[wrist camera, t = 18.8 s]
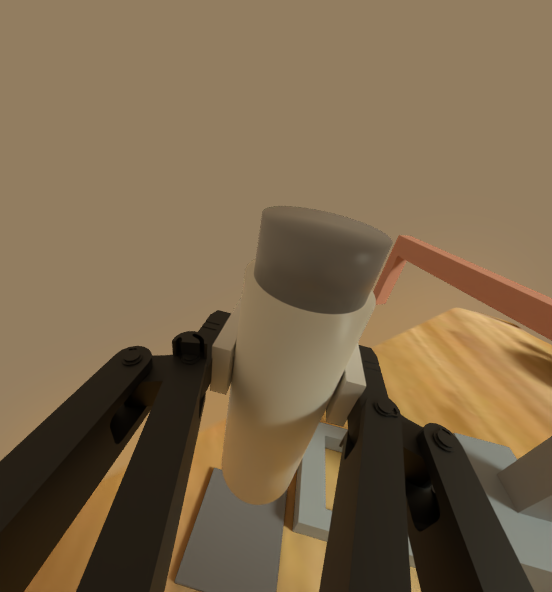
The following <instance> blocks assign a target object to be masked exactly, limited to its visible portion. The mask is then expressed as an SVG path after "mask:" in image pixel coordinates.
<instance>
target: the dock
mask: <svg viewBox="0 0 552 592" xmlns="http://www.w3.org/2000/svg"><path fill="white" fill-rule="evenodd" d="M346 432H347V429H343V428H340V427H336V426H332V425H329V424H325V423H321V422H319V424H318V426H317V428H316V431H315V433H314V435H313V437H312V439H311V441H310V443H309V445H308V447H307V449H306V451H305V453H304V456H303V458H302V460H301V462H300V464H299V466H298V469H297V481H296V494H295V506H294V519H293V532H296V533H300V534H303V535H306V536H310V537H313V538H317V539H320V540H323V541H328V534H329V528H330V522H331V516H332V511H331V510H327V509H326V501H325V448H328V449H332V450H335V451H339V452H342V449H343V446H342V447H339V444H340V442H341V440H342V439H343V437H344V435H345V434H346ZM453 435H454V436H455V437H456V438H457V439H458V440H459V442H460V443H461V445H462V446H463V448H464V450H465V452H466V455H467V457H468V459H469V461H470V463H471V465H472V467H473V469H474V471H475V473H476V475H477V477H478V479H479V481H480V483H481V485H482V487H483V489H484V491H485V493H486V495H487V497H488V499H489V501H490V503H491V505H492V507H493V509H494V511H495V513H496V515H497V517H498V519H499V521H500V523H501V525H502V527H503V529H504V531H505V533H506V535H507V537H508V539H509V541H510V543H511V545H512V547H513V549H514V551H515V553H516V555H517V557H518V559H519V561H520V563H521V565H522V568H523V570H524V572H525V574H526V576H527V578H528V580H529V582H530V584H531V586H532V588H533V590H534V592H552V436H551V437H550V438H548V439H547V440H545V441H544V442H543V443H541V444H540V445H538V446H537V447H535V448H534V449H532V450H531V451H530V452H528V453H527V454H525V455H524V456H522V457H521V458H519V459H518V460H517V459H516V457H515V456H514V454H513V453H512V451H511V449H510V448H509V447H506V446H503V445H499V444H495V443H491V442H487V441H484V440H480V439H476V438H472V437H468V436H465V435H461V434H457V433H453ZM408 544H409V562H410V566H411V567H414V568H416V567H415V563H414V558H413V554H412V550H411V545H410V541H409V537H408Z"/></svg>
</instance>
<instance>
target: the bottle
mask: <svg viewBox="0 0 552 592" xmlns="http://www.w3.org/2000/svg"><path fill="white" fill-rule="evenodd" d="M391 246H392V240H391V238H390V237H389V236H388V235H386V234H385V233H383V232H382V231H380V230H378V229H376V228H374V227H372V226H370V225H367V224H364V223H362V222H359V221H356V220H354V219H351V218H348V217H344V216H341V215H337V214H333V213H328V212H324V211H320V210H315V209H308V208H301V207H292V206H274V207H269V208H266V209H264V210H263V212H262V220H261V226H260V233H259V240H258V247H257V254H256V259H254V260H252V261H251V262H250V263H249V264H248V265H247V267H246V269H245V276H244V283H243V291H242V300H241V308H240V316H239V324H238V332H237V340H236V348H235V356H234V365H233V373H232V381H231V389H230V397H229V405H228V413H227V421H226V430H225V438H224V446H223V454H222V472H223V476H224V479H225V482H226V484H227V486H228V487H229V489H230V490H231V492H232V493H233V494H234V495H235V496H236V497H238V498H239V499H240V500H242V501H244V502H246V503H249V504H253V505H263V504H268V503H271V502H273V501H275V500H276V499H278V498H279V497H280V496H281V495H282V494H283V493H284V492H285V491H286V490H287V488H288V486H289V485H290V483H291V481H292V478H293V476H294V474H295V472H296V470H297V468H298V466H299V464H300V462H301V460H302V458H303V456H304V453H305V451H306V449H307V447H308V445H309V443H310V441H311V439H312V437H313V435H314V433H315V431H316V428H317V426H318V424H319V422H320V420H321V418H322V416H323V414H324V412H325V410H326V408H327V406H328V404H329V401H330V399H331V397H332V395H333V393H334V391H335V389H336V387H337V385H338V383H339V381H340V379H341V376H342V374H343V372H344V370H345V368H346V366H347V364H348V362H349V360H350V358H351V356H352V354H353V351H354V349H355V347H356V345H357V343H358V341H359V339H360V337H361V335H362V333H363V331H364V329H365V326H366V324H367V322H368V320H369V318H370V316H371V314H372V312H373V310H374V308H375V305H376V298H375V295H374V293H373V291H372V288H373V286H374V283H375V281H376V279H377V277H378V274H379V272H380V270H381V268H382V266H383V263H384V261H385V259H386V257H387V254H388V252H389V250H390V248H391Z"/></svg>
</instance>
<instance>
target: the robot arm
mask: <svg viewBox="0 0 552 592" xmlns="http://www.w3.org/2000/svg"><path fill="white" fill-rule="evenodd" d="M241 300H242V297H241V298H240V300H239V302H238V303H237V305H236V307H235V308H234V310H233V312H232V313H227V312H223V311H219V310H218V311H216V312H214V313H213V314H211V315H210V316H209V317H208V319H207V320H206V322H205V323H204V324H203V326H202V327H201V328H200V330H199V331H198V332H195V331H188V332H184V333H181V334H179V335H177V336H176V337H175V338H174V339H173V340H172V347H173V355H165V356H162V355H161V356H152V354H151V352H150V350H149V349H147V348H145V347H142V346H133V347H128V348H126V349H123V350H121V351H120V352H118V353H117V354H116V355H115V356H113V357H112V358H111V359H110V360H109V361H108V362H107V363H106V364H105V365H104V366H103V367H102V368H100V369H99V370H98V371H97V372H96V373H95V374H94V375H93V376H92V377H91V378H90V379H89V380H88V381H87V382H86V383H84V384H83V385H82V386H81V387H80V388H79V389H78V390H77V391H76V392H75V393H74V394H72V395H71V396H70V397H69V398H68V399H67V400H66V401H65V402H64V403H63V404H62V405H61V406H60V407H58V408H57V409H56V410H55V411H54V412H53V413H52V414H51V415H50V416H49V417H48V418H47V419H45V421H43V422H42V423H41V424H40V425H39V426H38V427H37V428H36V429H35V430H34V431H33V432H31V433H30V434H29V435H28V436H27V437H26V438H25V439H24V440H23V441H22V442H21V443H20V444H18V445H17V446H16V447H15V448H14V449H13V450H12V451H11V452H10V453H9V454H8V455H7V456H6V457H4V459H2V460H1V461H0V592H24V591H25V589H26V588H27V586H28V585H29V584H30V582H31V581H32V579H33V578H34V576H35V575H36V574H37V572H38V571H39V569H40V568H41V566H42V565H43V564H44V562H45V561H46V559H47V558H48V556H49V555H50V553H51V552H52V551H53V549H54V548H55V546H56V545H57V543H58V542H59V541H60V539H61V538H62V536H63V535H64V533H65V532H66V531H67V529H68V528H69V526H70V525H71V523H72V522H73V521H74V519H75V518H76V516H77V515H78V513H79V512H80V511H81V509H82V508H83V506H84V505H85V503H86V502H87V500H88V499H89V498H90V496H91V495H92V493H93V492H94V490H95V489H96V488H97V486H98V485H99V483H100V482H101V480H102V479H103V478H104V476H105V475H106V473H107V472H108V470H109V469H110V467H111V466H112V465H113V463H114V462H115V460H116V459H117V458H118V456H119V455H120V453H121V452H122V450H123V449H124V447H125V446H126V445H127V443H128V442H129V440H130V439H131V437H132V436H133V435H134V433H135V431H136V430H137V429H138V427H139V426H140V425H141V423H142V422H143V420H144V418H145V417H146V416H147V415H148V413H149V412H150V414H149V416H148V418H147V421H146V423H145V426H144V428H143V431H142V433H141V435H140V438H139V440H138V443H137V445H136V448H135V450H134V452H133V455H132V457H131V460H130V462H129V465H128V467H127V469H126V472H125V474H124V477H123V479H122V482H121V484H120V486H119V489H118V491H117V494H116V496H115V499H114V501H113V503H112V506H111V508H110V511H109V513H108V516H107V518H106V520H105V523H104V525H103V528H102V530H101V533H100V535H99V537H98V540H97V542H96V545H95V547H94V550H93V552H92V554H91V557H90V559H89V562H88V564H87V567H86V569H85V571H84V574H83V576H82V579H81V581H80V584H79V586H78V588H77V591H76V592H164V590H165V585H166V581H167V576H168V571H169V566H170V562H171V557H172V552H173V548H174V543H175V538H176V534H177V529H178V524H179V520H180V515H181V510H182V506H183V501H184V496H185V492H186V487H187V482H188V478H189V473H190V468H191V464H192V459H193V454H194V450H195V445H196V440H197V436H198V431H199V426H200V421H201V416H202V412H203V407H204V402H205V395H206V391H207V389H208V387H209V385H210V391H214V392H218V393H222V394H225V395H226V393H227V391H228V389H229V386H230V384H231V381H232V373H233V365H234V356H235V348H236V340H237V332H238V324H239V316H240V308H241ZM150 410H151V411H150ZM347 420H348V430H347V432H346V434H345V435H344V437H343V439H342V440H341V442H340V444H339V447H342V446H343V449H342V455H341V461H340V467H339V473H338V480H337V486H336V492H335V498H334V504H333V510H332V516H331V522H330V528H329V534H328V541H327V547H326V553H325V559H324V565H323V571H322V577H321V583H320V589H319V592H411V580H410V562H409V544H408V537H409V541H410V545H411V550H412V554H413V558H414V563H415V567H416V571H417V575H418V580H419V584H420V588H421V592H534V590H533V588H532V586H531V584H530V582H529V580H528V578H527V576H526V574H525V572H524V570H523V568H522V565H521V563H520V561H519V559H518V557H517V555H516V553H515V551H514V549H513V547H512V545H511V543H510V541H509V539H508V537H507V535H506V533H505V531H504V529H503V527H502V525H501V523H500V521H499V519H498V517H497V515H496V513H495V511H494V509H493V507H492V505H491V503H490V501H489V499H488V497H487V495H486V493H485V491H484V489H483V487H482V485H481V483H480V481H479V479H478V477H477V475H476V473H475V471H474V469H473V467H472V465H471V463H470V461H469V459H468V457H467V455H466V452H465V450H464V448H463V446H462V445H461V443H460V442H459V440H458V439H457V438H456V437H455V436H454V435H453V434H452V433H451V432H450V431H449V430H447V429H446V428H445V427H443V426H441V425H438V424H436V423H429V424H427V425H425V426H424V427H421V426H419V425H417V424H416V423H414V422H412V421H410V420H408V419H407V418H405V417H403V416H402V415H401V414H400V410H399V409H398V407H397V406H396V404H395V403H394V402H392V401H391V400H390V399H389V398H388V395H387V391H386V388H385V384H384V380H383V377H382V373H381V369H380V366H379V362H378V359H377V356H376V354H375V353H374V352H373V350H372V349H371V348H368V347H364V346H361V345H358V343H357V345H356V347H355V349H354V351H353V354H352V356H351V358H350V360H349V362H348V364H347V366H346V368H345V370H344V372H343V374H342V376H341V379H340V381H339V383H338V385H337V387H336V389H335V391H334V393H333V395H332V397H331V399H330V401H329V404H328V406H327V408H326V422H328V423H332V424H336V425H339V426H344V424H345V422H346V421H347Z"/></svg>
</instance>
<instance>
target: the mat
mask: <svg viewBox="0 0 552 592" xmlns="http://www.w3.org/2000/svg"><path fill="white" fill-rule="evenodd" d="M286 496H287V490H286V491H285V492H284V493H283V494H282V495H281V496H280V497H279V498H278V499H276V500H275V501H273V502H271V503H268V504H263V505H253V504H249V503H246V502H244V501H242V500H240V499H239V498H238V497H236V496H235V495H234V494H233V493H232V492H231V490H230V489H229V487H228V486H227V484H226V482H225V479H224V476H223V472H222V470H220V469H217V468H214V470H213V473H212V476H211V479H210V482H209V484H208V487H207V490H206V493H205V496H204V499H203V502H202V504H201V507H200V510H199V513H198V516H197V519H196V522H195V524H194V527H193V530H192V533H191V536H190V539H189V542H188V544H187V547H186V550H185V553H184V556H183V559H182V561H181V564H180V567H179V570H178V573H177V576H176V579H175V581H174V582H175V583H176V584H179V585H182V586H185V587H189V588H192V589H195V590H198V591H201V592H276V590H277V580H278V571H279V562H280V552H281V543H282V534H283V524H284V515H285V505H286Z"/></svg>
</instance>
